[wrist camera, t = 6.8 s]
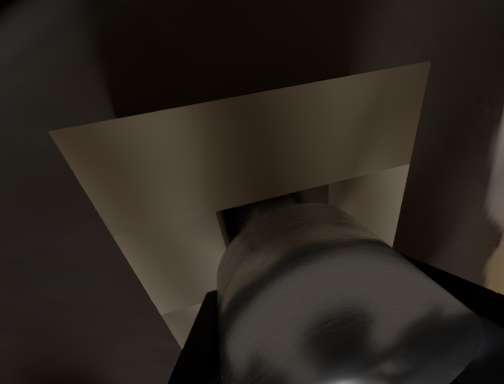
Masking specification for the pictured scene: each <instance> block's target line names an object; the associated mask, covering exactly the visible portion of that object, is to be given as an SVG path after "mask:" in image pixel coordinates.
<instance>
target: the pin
mask: <svg viewBox="0 0 504 384" xmlns="http://www.w3.org/2000/svg"><path fill="white" fill-rule="evenodd" d="M235 222H236V226H237V231H238V235H237V236H236V238H235V239H234V240H233V241H232V242H231V243H230V245H229V246H228V248H227V249H226V251H225V252H224V254H223V256H222V258H221V261H220V263H219V267H218V270H217V277H216V284H217V308H218V333H219V357H220V381H221V384H449V383H451V382H452V381H453V380H454V379H455V378H456V377H457V376H458V375H459V374H460V373H461V372H462V371H463V370H464V369H465V367H466V366H467V365H468V364H469V363H470V361H471V360H472V359H473V357H474V356H475V354H476V352H477V351H478V349H479V347H480V345H481V342H482V339H483V334H484V328H483V323H482V321H481V319H480V318H479V317H478V316H477V315H476V314H475V313H474V312H472V311H471V310H470V309H469V308H467V307H466V306H465V305H464V304H462V303H461V302H460V301H459V300H457V299H456V298H455V297H453V296H452V295H451V294H450V293H448V292H447V291H446V290H445V289H443V288H442V287H441V286H440V285H438V284H437V283H436V282H435V281H433V280H432V279H431V278H430V277H428V276H427V275H426V274H425V273H423V272H422V271H421V270H419V269H418V268H417V267H416V266H414V265H413V264H412V263H411V262H409V261H408V260H407V259H406V258H404V257H403V256H402V255H401V254H399V253H398V252H397V251H396V250H394V249H393V248H392V247H391V246H389V245H388V244H387V243H385V242H384V241H383V240H382V239H380V238H379V237H378V236H377V235H375V234H374V233H373V232H372V231H370V230H369V229H368V228H367V227H365V226H364V225H363V224H362V223H360V222H359V221H358V220H357V219H355V218H354V217H353V216H352V215H350V214H349V213H348V212H346V211H344V210H342V209H340V208H338V207H335V206H332V205H327V204H321V203H304V204H298V203H297V202H296V201H295V200H294V198H293V197H292V196H291V195H290V194H285V195H281V196H277V197H273V198H269V199H265V200H261V201H257V202H253V203H249V204H245V205H241V206H237V207H236V208H235Z"/></svg>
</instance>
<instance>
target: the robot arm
mask: <svg viewBox="0 0 504 384" xmlns="http://www.w3.org/2000/svg"><path fill="white" fill-rule="evenodd" d="M398 253H399V252H398ZM399 254H401V253H399ZM401 255H402V256H403V257H404V258H406V259H407V260H408V261H409V262H411V263H412V264H413V265H414V266H416V267H417V268H418V269H419V270H421V271H422V272H423V273H425V274H426V275H427V276H428V277H430V278H431V279H432V280H433V281H435V282H436V283H437V284H438V285H440V286H441V287H442V288H443V289H445V290H446V291H447V292H448V293H450V294H451V295H452V296H453V297H455V298H456V299H457V300H459V301H460V302H461V303H462V304H464V305H465V306H466V307H467V308H469V309H470V310H471V311H472V312H474V313H475V314H476V315H477V316H478V317H479V318H480V319H481V321H482V323H483V328H484V334H483V339H482V342H481V345H480V347H479V349H478V351H477V352H476V354H475V356H474V357H473V359H472V360H471V361H470V363H469V364H468V365H467V366H466V367H465V369H464V370H463V371H462V372H461V373H460V374H459V375H458V376H457V377H456V378H455V379H454V380H453V381H452V382H451V383H449V384H504V295H502V294H500V293H496V292H494V291H492V290H490V289H487V288H485V287H482V286H480V285H478V284H475V283H473V282H470V281H468V280H465V279H463V278H460V277H458V276H455V275H453V274H450V273H448V272H446V271H443V270H441V269H438V268H436V267H433V266H431V265H428V264H426V263H423V262H421V261H418V260H416V259H414V258H411V257H409V256H406V255H404V254H401ZM168 384H221V381H220V357H219V333H218V308H217V290H213V291H209V292H207V293H206V295H205V297H204V300H203V302H202V304H201V307H200V309H199V311H198V314H197V316H196V318H195V321H194V323H193V326H192V328H191V330H190V333H189V335H188V337H187V340H186V342H185V344H184V347H183V349H182V351H181V354H180V356H179V358H178V361H177V363H176V365H175V368H174V370H173V372H172V375H171V377H170V380H169V382H168Z"/></svg>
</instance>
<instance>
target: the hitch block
mask: <svg viewBox="0 0 504 384" xmlns="http://www.w3.org/2000/svg"><path fill="white" fill-rule="evenodd" d="M430 64H431V61H428V62H422V63H417V64H411V65H406V66H400V67H395V68H389V69H384V70H378V71H373V72H367V73H362V74H356V75H351V76H346V77H340V78H335V79H329V80H324V81H318V82H313V83H308V84H302V85H297V86H291V87H286V88H280V89H275V90H270V91H264V92H259V93H253V94H248V95H243V96H237V97H232V98H226V99H221V100H215V101H210V102H205V103H199V104H194V105H188V106H183V107H177V108H172V109H167V110H161V111H156V112H150V113H145V114H140V115H134V116H129V117H123V118H118V119H112V120H107V121H102V122H96V123H91V124H86V125H80V126H75V127H70V128H64V129H59V130H54V131H48V132H49V133H50V135H51V137H52V138H53V140H54V141H55V143H56V145H57V146H58V148H59V150H60V151H61V153H62V154H63V156H64V158H65V159H66V161H67V163H68V164H69V166H70V167H71V169H72V171H73V172H74V174H75V176H76V177H77V179H78V180H79V182H80V184H81V185H82V187H83V189H84V190H85V192H86V194H87V195H88V197H89V198H90V200H91V202H92V203H93V205H94V207H95V208H96V210H97V211H98V213H99V215H100V216H101V218H102V220H103V221H104V223H105V224H106V226H107V228H108V229H109V231H110V233H111V234H112V236H113V237H114V239H115V241H116V242H117V244H118V246H119V247H120V249H121V250H122V252H123V254H124V255H125V257H126V259H127V260H128V262H129V264H130V265H131V267H132V268H133V270H134V272H135V273H136V275H137V277H138V278H139V280H140V281H141V283H142V285H143V286H144V288H145V290H146V291H147V293H148V294H149V296H150V298H151V299H152V301H153V303H154V304H155V306H156V307H157V309H158V311H159V312H160V314H161V316H162V317H163V319H164V320H165V322H166V324H167V325H168V327H169V329H170V330H171V332H172V334H173V335H174V337H175V338H176V340H177V342H178V343H179V345H180V347H181V348H182V349H183V347H184V344H185V342H186V340H187V337H188V335H189V333H190V330H191V328H192V326H193V323H194V321H195V318H196V316H197V314H198V311H199V309H200V307H201V304H202V302H203V300H204V297H205V295H206V293H207V292H209V291H213V290H217V284H216V277H217V270H218V267H219V263H220V261H221V258H222V256H223V254H224V252H225V251H226V249H227V248H228V246H229V245H230V243H231V242H232V241H233V240H234V239H235V238H236V236H237V235H236V236H232V237H230V235H229V231H228V227H227V224H226V220H225V216H224V213H223V210H224V209H228V208H232V207H237V206H241V205H245V204H249V203H253V202H257V201H261V200H265V199H269V198H273V197H277V196H281V195H285V194H289V193H293V198H294V200H295V201H296V202H297V203H298V204H304V203H321V204H327V205H332V206H335V207H338V208H340V209H342V210H344V211H346V212H348V213H349V214H350V215H352V216H353V217H354V218H355V219H357V220H358V221H359V222H360V223H362V224H363V225H364V226H365V227H367V228H368V229H369V230H370V231H372V232H373V233H374V234H375V235H377V236H378V237H379V238H380V239H382V240H383V241H384V242H385V243H387V244H388V245H389V246H391V247H393V242H394V237H395V232H396V228H397V223H398V218H399V213H400V208H401V204H402V199H403V194H404V189H405V184H406V180H407V175H408V170H409V165H410V160H411V156H412V151H413V146H414V141H415V136H416V132H417V127H418V122H419V117H420V112H421V108H422V103H423V98H424V93H425V88H426V83H427V79H428V74H429V69H430Z"/></svg>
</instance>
